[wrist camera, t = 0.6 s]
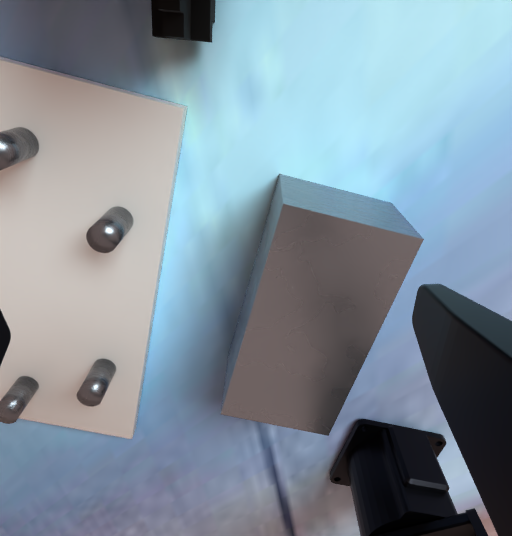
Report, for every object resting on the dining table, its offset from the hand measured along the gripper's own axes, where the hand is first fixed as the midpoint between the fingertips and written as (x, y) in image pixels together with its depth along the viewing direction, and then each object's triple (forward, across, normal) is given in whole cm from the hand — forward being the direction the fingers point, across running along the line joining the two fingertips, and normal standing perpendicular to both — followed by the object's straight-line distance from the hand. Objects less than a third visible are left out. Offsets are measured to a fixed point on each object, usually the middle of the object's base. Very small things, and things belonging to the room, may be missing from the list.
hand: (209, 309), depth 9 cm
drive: (+12, -4, +8) cm, 15 cm away
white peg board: (+13, +12, +7) cm, 19 cm away
